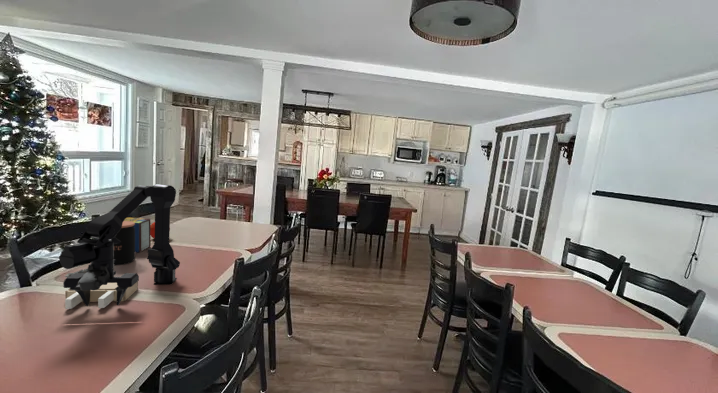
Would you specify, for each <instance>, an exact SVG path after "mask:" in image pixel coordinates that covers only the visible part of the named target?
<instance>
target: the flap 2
mask: <svg viewBox="0 0 718 393" xmlns="http://www.w3.org/2000/svg"><path fill="white" fill-rule="evenodd" d="M116 299H117V291H116V290H107V291H106V293H105V294H104V295H102V296H101V297H100V298H98V302H97V308H98V309H104V308H106V307H107V306H108V305H110V304H111V302H116ZM126 301H127V299H126V292H125V294H124V296H123V298H122V300H121V302H126Z"/></svg>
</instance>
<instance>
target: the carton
mask: <svg viewBox="0 0 718 393" xmlns="http://www.w3.org/2000/svg"><path fill="white" fill-rule="evenodd" d="M116 287H118V285H117V283H107V285H102V286H100V288H99V289H98V290H91V291H90V303H92V302H94V303H95V302H97V303H98V298H100V297H101V296H102V295H104V294H105V293H106V291H107V290H116V289H115V288H116ZM67 289H68V290H67V291H74V290H70V288H67ZM137 290H139V281H138V282H136V283H135V284H134V285H133V286H132V287H128V288H127V290H126V300H127V299H128V298H130V297H131V295H133V294H134V293H135V292H136V291H137Z"/></svg>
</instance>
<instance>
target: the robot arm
mask: <svg viewBox="0 0 718 393" xmlns="http://www.w3.org/2000/svg"><path fill="white" fill-rule="evenodd" d="M176 194H177V190H176V187H174V186H172V185H169V184H168V185H167V184H159V183H156V184H154V185H151V186H149V185H143V184H138V185H135V187H134V188H133V190H131V192H129V193H128V194H127V196H125V197H123V199H121V201H119V203H117V204H116V205H115V206H114V207H113V208H112V209H111V210H110V211H108V212H107V213H104V214H102V215H99V216H97V217H96V218H94V219H92V220H91V221H89V222H88V224H87V225H86V227H85V229H84V231H83V233H82V234H81V236H80V237H79V238H78V239H77V243H74V244H68V245H64V249H63V250H61V252H60V255H59V257H58V259H59V260H58V261H59V263H60V265H61V267H63V268H64V269H66V270H70V269H75V268H78V267H81V266H84V265H88V267H87V268H88V271H87V273H75V274H73V275H71V276H70V277H68V278H67V277H65V279H64V280H63V285H62V286H63V288H64V289H70V290H74V291H76V292H78V293H79V295H80V296H81V298H82V300H83V302H82V303H84V305H85V306H86V307H88V306H90V303H91V302H90V291H91V290H98V289H99V288H100V286H102V285H107V283H117V285H118V287H116V288H115V289H116V291H117V299H116V301H115V302H116V306H119V305H120V304H121V302H122V301H121V300H122V298H123V296H124V294H125V292H126V290H127V288H128V287H132V286H133V285H134V284H135V283H136V282H138V283H139V280H140V275H138V273H137V272H130V273H129V272H126V273H125V272H124V274H122V275H121V276H116V274H117V272H116V270H115V265H114V263H115V262H116V259H114V244H117V243H120V240H118V239H116V238H115V236H116V235H117V233H118V232H119V231H120V229H121V228H122V224H123V221H124V220H125V219H126V218H129V216H130V215H131V214H132V213H133V212H134V211H135V210H137V208H139V206H140V205H142V203H144V201H146V200H147V199H148V198H150V201H151V203H152V205H153V207H154V222H155V239H154V238H153V239H154V240H153V242H154V244H152V246H151V247H150V248H147V258H146V259H147V260H148V263H149V264H150V266H151V268H152V269H153V268H155V271H154V272H153V282H154V283H153V285H154V286H163V285H164V286H168V285H170V286H172V285H173V284H174V283H175V282H176V281H177V279H178V278H177V277H176V270H177V269H178V268H179V267H180V264H181V262H180V261H179V260H178V259H177V258H175V253H174V252H175V251H174V249H173V246H172V245H171V244H170V233H171V232H170V230H171V228H170V227H171V226H170V225H171V223H170V222H171V208H172V206H173V204H174V203H175V200H176ZM93 238H94V239H93Z"/></svg>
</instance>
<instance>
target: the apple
mask: <svg viewBox="0 0 718 393" xmlns="http://www.w3.org/2000/svg"><path fill="white" fill-rule="evenodd" d="M150 237H151V238H153V239H155V221H154V222H152V223H150Z"/></svg>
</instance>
